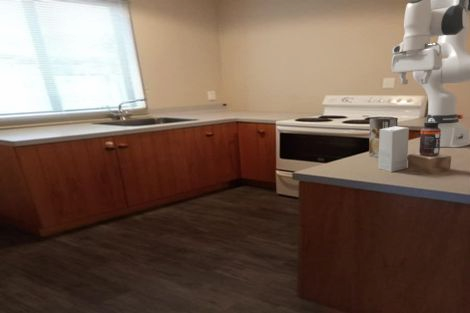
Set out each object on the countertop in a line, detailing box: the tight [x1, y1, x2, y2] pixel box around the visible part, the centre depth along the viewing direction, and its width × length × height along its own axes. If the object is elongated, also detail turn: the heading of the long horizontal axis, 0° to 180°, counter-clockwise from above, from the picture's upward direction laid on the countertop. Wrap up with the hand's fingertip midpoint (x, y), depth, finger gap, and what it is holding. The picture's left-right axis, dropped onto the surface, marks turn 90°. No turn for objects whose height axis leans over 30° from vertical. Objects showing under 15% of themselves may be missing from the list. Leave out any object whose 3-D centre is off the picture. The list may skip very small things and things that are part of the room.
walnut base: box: [407, 152, 452, 175], centre depth 114 cm, size 9×9×5 cm
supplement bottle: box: [418, 121, 441, 156], centre depth 112 cm, size 6×6×11 cm
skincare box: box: [377, 125, 410, 173], centre depth 116 cm, size 8×6×15 cm
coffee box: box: [368, 116, 399, 158], centre depth 136 cm, size 9×6×16 cm
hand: (414, 84), depth 124 cm, fingers open, 8 cm apart
